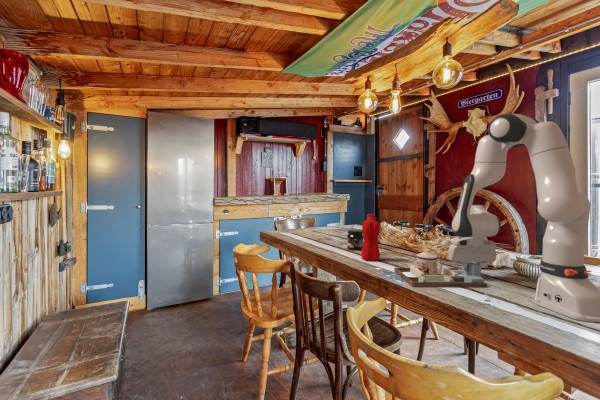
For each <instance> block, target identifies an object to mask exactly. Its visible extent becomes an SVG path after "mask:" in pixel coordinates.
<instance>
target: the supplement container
mask: <svg viewBox="0 0 600 400" xmlns="http://www.w3.org/2000/svg"><path fill="white" fill-rule="evenodd" d="M363 242H364V238H363V231H362V229H348V230H347V235H346V248H347V249H348V250H350V251H362V247H363Z"/></svg>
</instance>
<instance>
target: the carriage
mask: <svg viewBox="0 0 600 400" xmlns="http://www.w3.org/2000/svg"><path fill="white" fill-rule="evenodd" d="M465 265H466V267H468V268H469V271H468V272H465V271H464V270H463V268H464V267H463V265H462V264H461V269H458V270H450V269H448V268H449V267H446V266H444V265H442V270H441V272H440V273H441V274H442V275H440V273H439V275H438V274H437V275H424V273H423V272H421V271H420V270H418V269H417V267H416V266H414V265H409V268H410V272H409V273H410V274H412V275H413V277H418V275H421V276H423V277H444V275H447V276H449V277H464V276H478V277H481V271H482V269H481V266H480V265H477V264H475V263H473V262H467V264H465ZM439 268H440V267H437V271H439ZM458 274H459V275H458ZM481 278H482V277H481Z"/></svg>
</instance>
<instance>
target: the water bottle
mask: <svg viewBox="0 0 600 400" xmlns="http://www.w3.org/2000/svg"><path fill="white" fill-rule="evenodd" d="M361 226H362V227H361V230H362V231H363V234H362V235H363V247H362V250H360V251H361V255H360V256H361V259H362V260H364V261H366V262H376V261H379V260H380V257H381V253H380V247H379V243H378V241H379V237H380V230H381V231H383V229H382V227H381V224H380V223H379V221H378V220H377V218H376V215H375V214H373V213H368V214H367V215H366V219H365V220H363V222H362V225H361ZM382 238H383V236H381V237H380V239H382Z"/></svg>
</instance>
